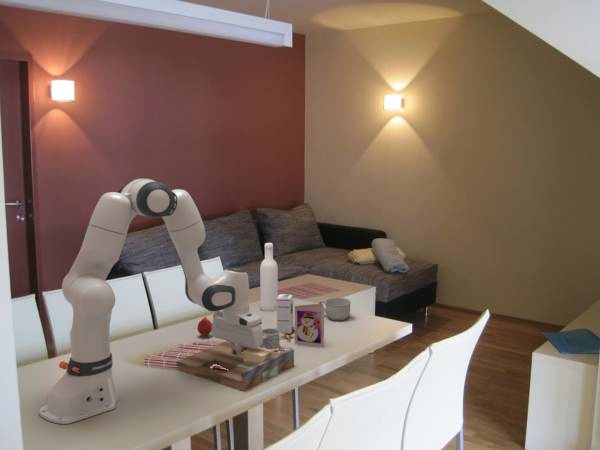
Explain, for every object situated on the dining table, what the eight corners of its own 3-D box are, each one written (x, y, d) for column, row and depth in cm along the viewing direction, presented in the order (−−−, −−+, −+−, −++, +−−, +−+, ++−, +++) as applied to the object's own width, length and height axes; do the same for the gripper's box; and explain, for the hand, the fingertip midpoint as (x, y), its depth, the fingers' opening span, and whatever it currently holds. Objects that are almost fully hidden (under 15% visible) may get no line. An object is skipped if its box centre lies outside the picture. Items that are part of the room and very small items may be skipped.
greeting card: (293, 345, 238) (293, 306, 236) (299, 338, 245) (299, 301, 243) (323, 348, 235) (323, 309, 232) (328, 341, 242) (328, 303, 239)
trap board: (244, 391, 197) (244, 373, 196) (177, 369, 214) (176, 352, 213) (293, 365, 218) (293, 349, 217) (228, 347, 235) (228, 332, 234)
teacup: (354, 317, 272) (355, 299, 271) (342, 324, 263) (343, 305, 262) (326, 312, 280) (326, 294, 278) (314, 318, 271) (314, 300, 269)
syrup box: (291, 333, 251) (290, 298, 249) (276, 332, 252) (276, 297, 250) (293, 328, 257) (293, 294, 255) (279, 328, 258) (279, 293, 256)
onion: (209, 339, 244) (209, 319, 243) (195, 338, 245) (195, 318, 244) (214, 334, 250) (214, 315, 248) (200, 333, 251) (200, 314, 250)
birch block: (262, 370, 205) (261, 356, 205) (243, 365, 210) (243, 350, 209) (273, 365, 210) (273, 350, 209) (255, 359, 215) (255, 345, 214)
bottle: (270, 305, 290) (270, 241, 285) (281, 309, 284) (281, 243, 279) (256, 308, 285) (256, 243, 280) (267, 312, 279) (267, 245, 274)
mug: (268, 344, 239) (267, 327, 238) (282, 347, 236) (282, 330, 235) (252, 352, 231) (252, 334, 230) (267, 355, 227) (267, 338, 226)
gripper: (207, 311, 216) (207, 350, 218) (253, 323, 204) (253, 363, 206) (219, 307, 221) (220, 345, 223) (265, 318, 209) (265, 358, 211)
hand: (236, 354), depth 215 cm, fingers closed
